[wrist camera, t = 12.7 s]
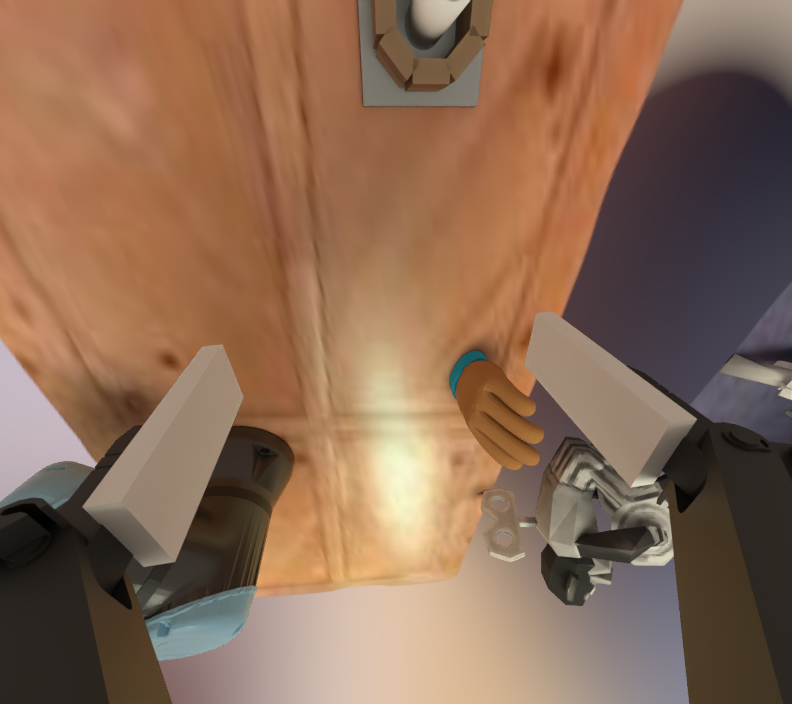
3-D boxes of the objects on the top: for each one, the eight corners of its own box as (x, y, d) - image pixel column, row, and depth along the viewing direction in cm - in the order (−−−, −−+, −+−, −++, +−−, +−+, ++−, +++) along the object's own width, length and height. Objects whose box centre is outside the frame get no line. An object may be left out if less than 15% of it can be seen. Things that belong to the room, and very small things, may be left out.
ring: (374, 91, 26) (377, 83, 23) (369, -58, 21) (371, -95, 18) (467, 91, 27) (483, 84, 23) (480, -53, 22) (502, -88, 19)
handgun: (712, 375, 49) (810, 422, 42) (729, 356, 47) (835, 403, 40) (754, 338, 58) (841, 372, 51) (771, 320, 55) (864, 353, 48)
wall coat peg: (363, 106, 27) (367, 87, 18) (353, -75, 22) (353, -225, 13) (473, 107, 28) (527, 89, 19) (491, -67, 23) (579, -203, 14)
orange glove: (476, 410, 50) (516, 497, 38) (436, 405, 48) (465, 494, 36) (509, 349, 44) (570, 429, 32) (464, 341, 42) (511, 422, 30)
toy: (665, 445, 60) (610, 570, 66) (505, 399, 66) (467, 519, 72) (767, 515, 40) (675, 689, 46) (522, 441, 45) (467, 604, 51)
